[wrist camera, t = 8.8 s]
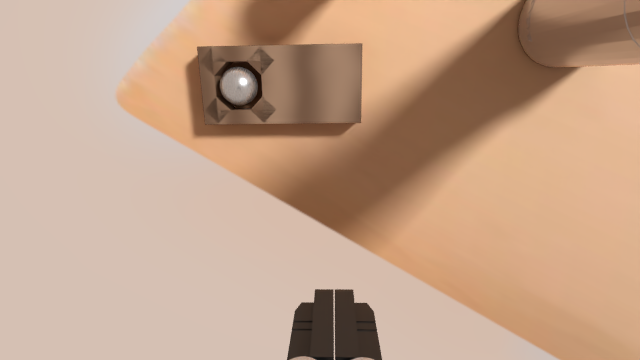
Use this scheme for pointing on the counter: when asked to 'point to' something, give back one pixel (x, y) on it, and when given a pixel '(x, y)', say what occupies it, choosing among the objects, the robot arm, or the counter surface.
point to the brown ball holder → (287, 83)
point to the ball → (238, 86)
